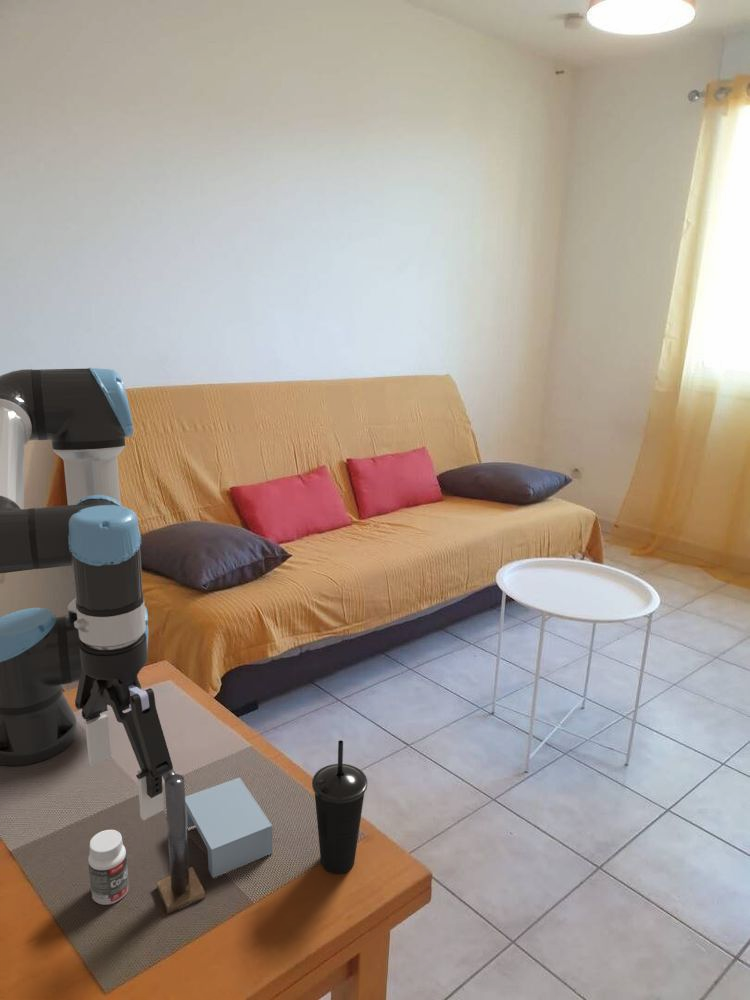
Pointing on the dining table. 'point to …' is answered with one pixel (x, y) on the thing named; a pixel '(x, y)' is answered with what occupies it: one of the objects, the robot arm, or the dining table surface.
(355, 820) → the drinking cup
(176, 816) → the hook post
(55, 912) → the dining table surface
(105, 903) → the pill bottle
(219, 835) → the light blue boxy piece
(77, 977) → the dining table surface
